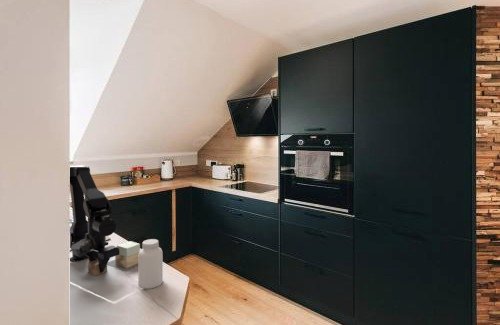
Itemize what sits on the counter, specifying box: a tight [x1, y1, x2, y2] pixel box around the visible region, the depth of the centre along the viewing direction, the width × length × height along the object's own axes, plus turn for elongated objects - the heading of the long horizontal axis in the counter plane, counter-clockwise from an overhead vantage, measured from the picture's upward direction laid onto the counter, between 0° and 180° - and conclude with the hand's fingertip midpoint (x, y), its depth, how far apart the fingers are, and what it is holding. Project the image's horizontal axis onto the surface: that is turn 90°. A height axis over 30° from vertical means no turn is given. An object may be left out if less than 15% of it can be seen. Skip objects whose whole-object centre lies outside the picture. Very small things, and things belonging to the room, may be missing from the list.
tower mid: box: [116, 240, 141, 257], centre depth 111 cm, size 6×6×4 cm
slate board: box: [107, 259, 138, 272], centre depth 111 cm, size 13×10×1 cm
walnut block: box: [87, 260, 108, 277], centre depth 103 cm, size 4×4×4 cm
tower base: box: [114, 253, 139, 268], centre depth 111 cm, size 7×7×4 cm
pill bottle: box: [137, 238, 164, 290], centre depth 95 cm, size 8×8×15 cm
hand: (97, 270), depth 103 cm, fingers closed on walnut block, 4 cm apart
